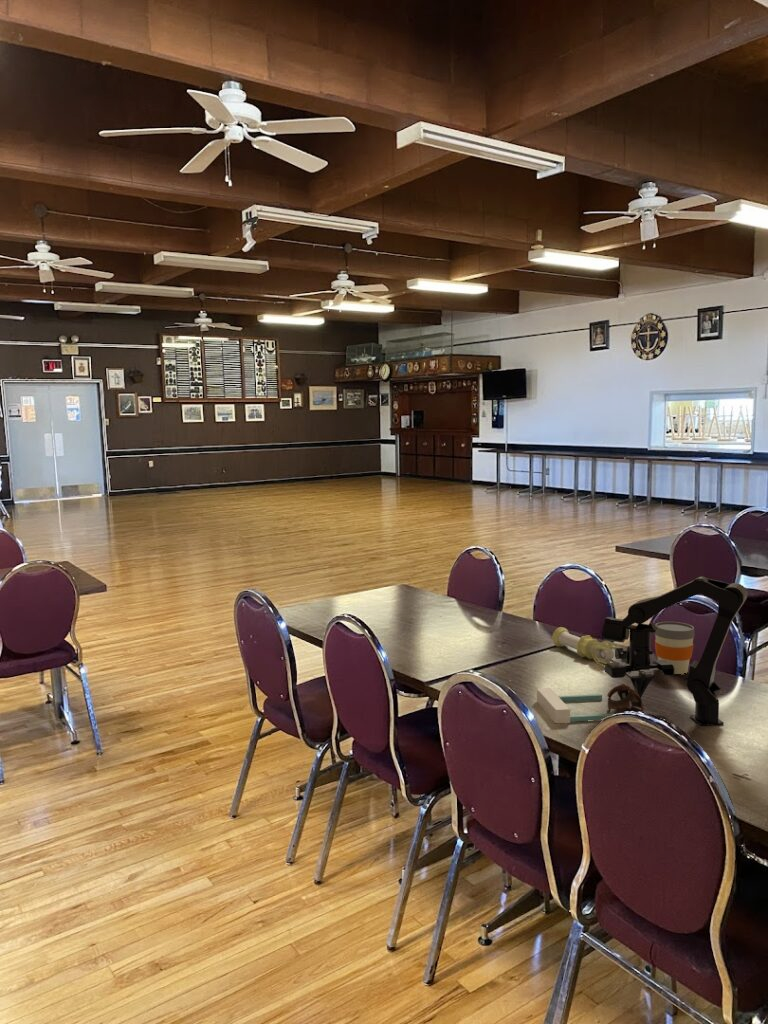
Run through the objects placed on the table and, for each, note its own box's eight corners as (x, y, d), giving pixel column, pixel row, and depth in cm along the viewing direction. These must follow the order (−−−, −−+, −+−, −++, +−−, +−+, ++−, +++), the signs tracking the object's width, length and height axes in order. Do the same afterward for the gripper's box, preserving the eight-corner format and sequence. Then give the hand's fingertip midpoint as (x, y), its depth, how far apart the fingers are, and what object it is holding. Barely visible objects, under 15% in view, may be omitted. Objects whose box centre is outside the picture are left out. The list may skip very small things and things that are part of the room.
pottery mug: (650, 718, 206) (638, 696, 203) (618, 730, 208) (606, 708, 206) (640, 693, 217) (629, 671, 214) (610, 705, 219) (598, 683, 217)
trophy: (550, 626, 272) (606, 646, 245) (566, 624, 275) (623, 643, 248) (550, 648, 273) (606, 670, 246) (566, 645, 276) (623, 667, 249)
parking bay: (624, 720, 204) (624, 706, 203) (555, 724, 202) (556, 709, 201) (600, 698, 220) (600, 685, 220) (536, 701, 218) (536, 688, 218)
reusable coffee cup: (644, 667, 249) (646, 623, 247) (674, 662, 253) (675, 619, 251) (671, 678, 237) (672, 633, 235) (702, 673, 241) (703, 629, 240)
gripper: (657, 635, 220) (656, 686, 221) (597, 638, 218) (596, 689, 219) (676, 646, 209) (675, 699, 210) (613, 649, 207) (612, 703, 208)
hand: (638, 697), depth 212 cm, fingers closed
